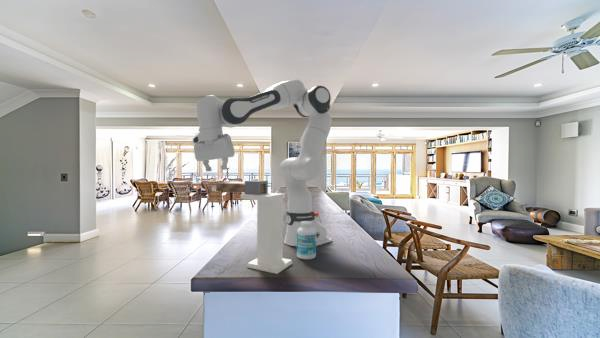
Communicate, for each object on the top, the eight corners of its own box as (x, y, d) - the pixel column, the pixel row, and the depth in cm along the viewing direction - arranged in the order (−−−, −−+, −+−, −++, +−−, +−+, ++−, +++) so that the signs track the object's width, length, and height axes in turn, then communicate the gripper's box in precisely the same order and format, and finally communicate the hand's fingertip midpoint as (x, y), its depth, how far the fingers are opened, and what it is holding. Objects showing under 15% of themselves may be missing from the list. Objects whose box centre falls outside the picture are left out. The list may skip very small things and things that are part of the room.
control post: (240, 265, 95) (240, 181, 94) (257, 257, 104) (257, 179, 103) (277, 273, 88) (277, 182, 88) (291, 263, 97) (292, 181, 97)
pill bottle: (295, 259, 101) (295, 223, 101) (298, 253, 109) (298, 219, 109) (315, 260, 100) (315, 224, 100) (316, 254, 108) (317, 220, 108)
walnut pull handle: (216, 190, 104) (216, 182, 104) (221, 190, 107) (221, 182, 107) (258, 193, 95) (258, 184, 95) (263, 192, 98) (263, 184, 98)
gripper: (235, 132, 107) (240, 167, 107) (202, 139, 118) (206, 171, 119) (223, 132, 101) (228, 169, 102) (189, 140, 113) (194, 173, 113)
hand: (216, 170), depth 110 cm, fingers open, 8 cm apart
